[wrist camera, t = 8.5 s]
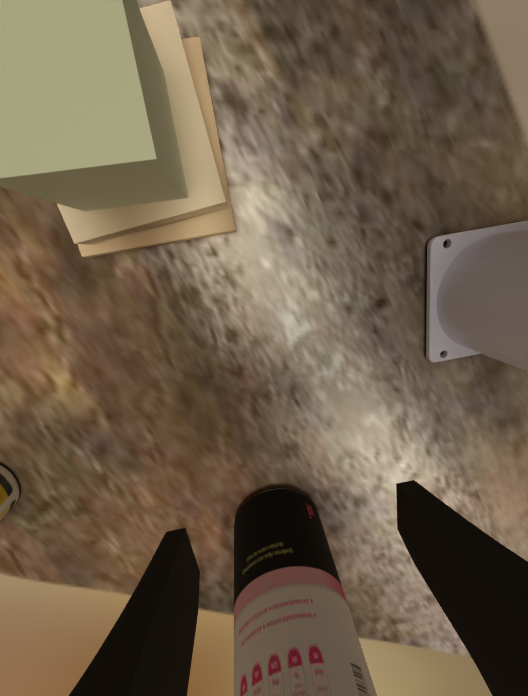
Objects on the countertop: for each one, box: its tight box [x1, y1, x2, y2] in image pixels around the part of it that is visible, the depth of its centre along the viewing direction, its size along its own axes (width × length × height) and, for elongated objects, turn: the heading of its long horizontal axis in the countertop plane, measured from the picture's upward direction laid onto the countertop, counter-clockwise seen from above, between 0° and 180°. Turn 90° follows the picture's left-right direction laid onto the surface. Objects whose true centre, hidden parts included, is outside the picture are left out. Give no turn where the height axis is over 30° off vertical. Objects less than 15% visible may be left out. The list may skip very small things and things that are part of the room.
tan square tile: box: [57, 0, 227, 245], centre depth 13 cm, size 7×7×2 cm
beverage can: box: [234, 488, 377, 696], centre depth 16 cm, size 6×6×15 cm
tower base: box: [78, 37, 236, 257], centre depth 15 cm, size 8×8×2 cm
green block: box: [0, 0, 188, 212], centre depth 10 cm, size 4×4×6 cm
